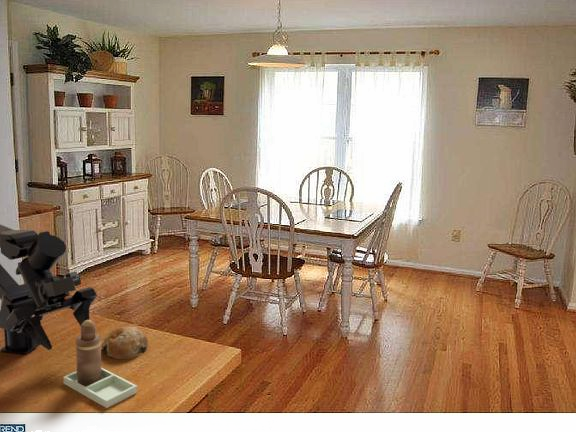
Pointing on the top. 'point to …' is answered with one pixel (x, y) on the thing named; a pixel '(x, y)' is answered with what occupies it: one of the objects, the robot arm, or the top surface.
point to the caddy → (103, 388)
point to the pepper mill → (88, 354)
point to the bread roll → (125, 343)
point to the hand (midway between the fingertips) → (70, 341)
